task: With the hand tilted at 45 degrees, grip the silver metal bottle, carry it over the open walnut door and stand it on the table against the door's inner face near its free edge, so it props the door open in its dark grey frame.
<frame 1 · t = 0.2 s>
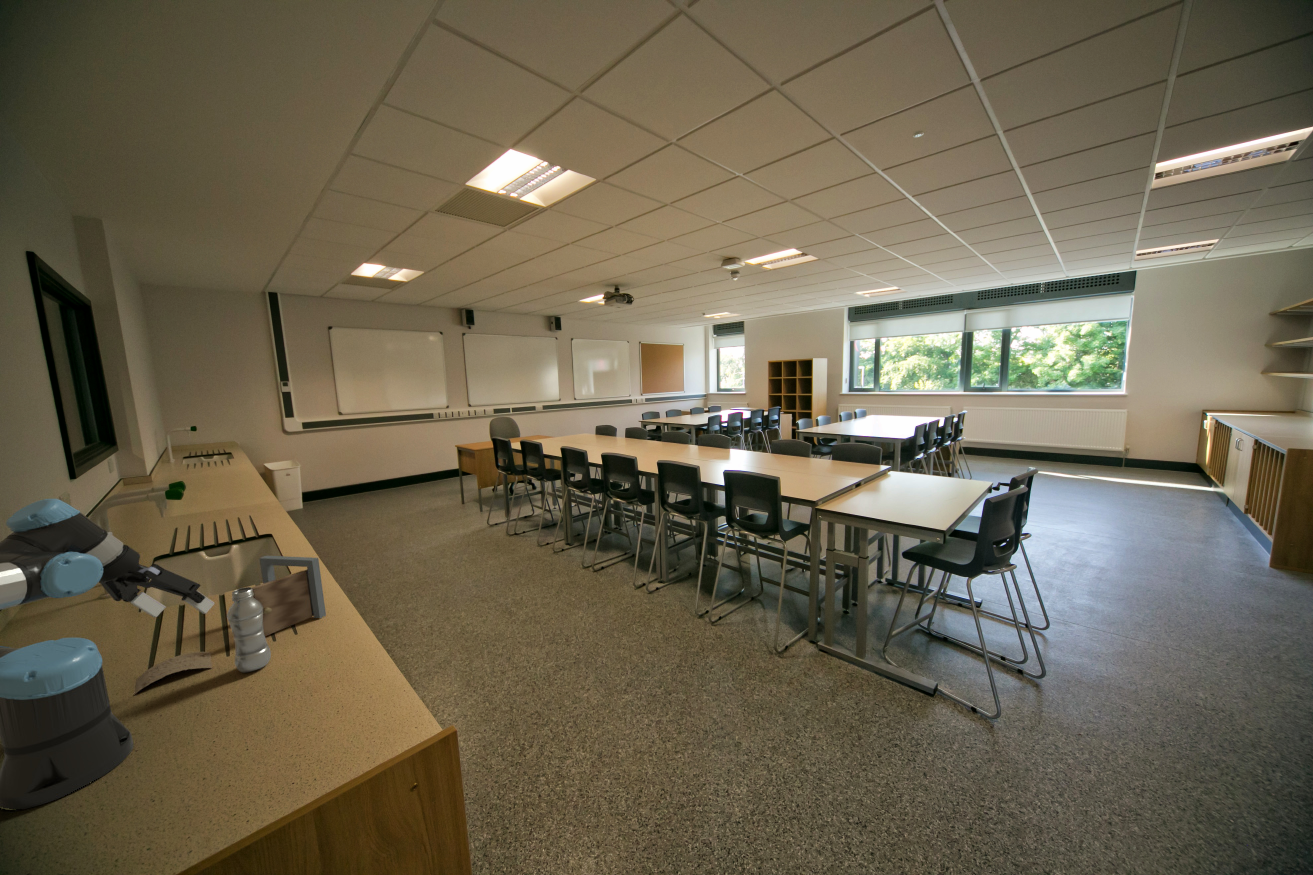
hand: (184, 610, 109), 15 cm above the counter, tool tilted 30°, fingers open, 13 cm apart
silver metal bottle: (254, 668, 111), on the counter
door frame: (296, 615, 135), on the counter
door: (286, 602, 127), point 8 cm above the counter, hinge at 70.0°
clay tablet: (175, 675, 110), on the counter
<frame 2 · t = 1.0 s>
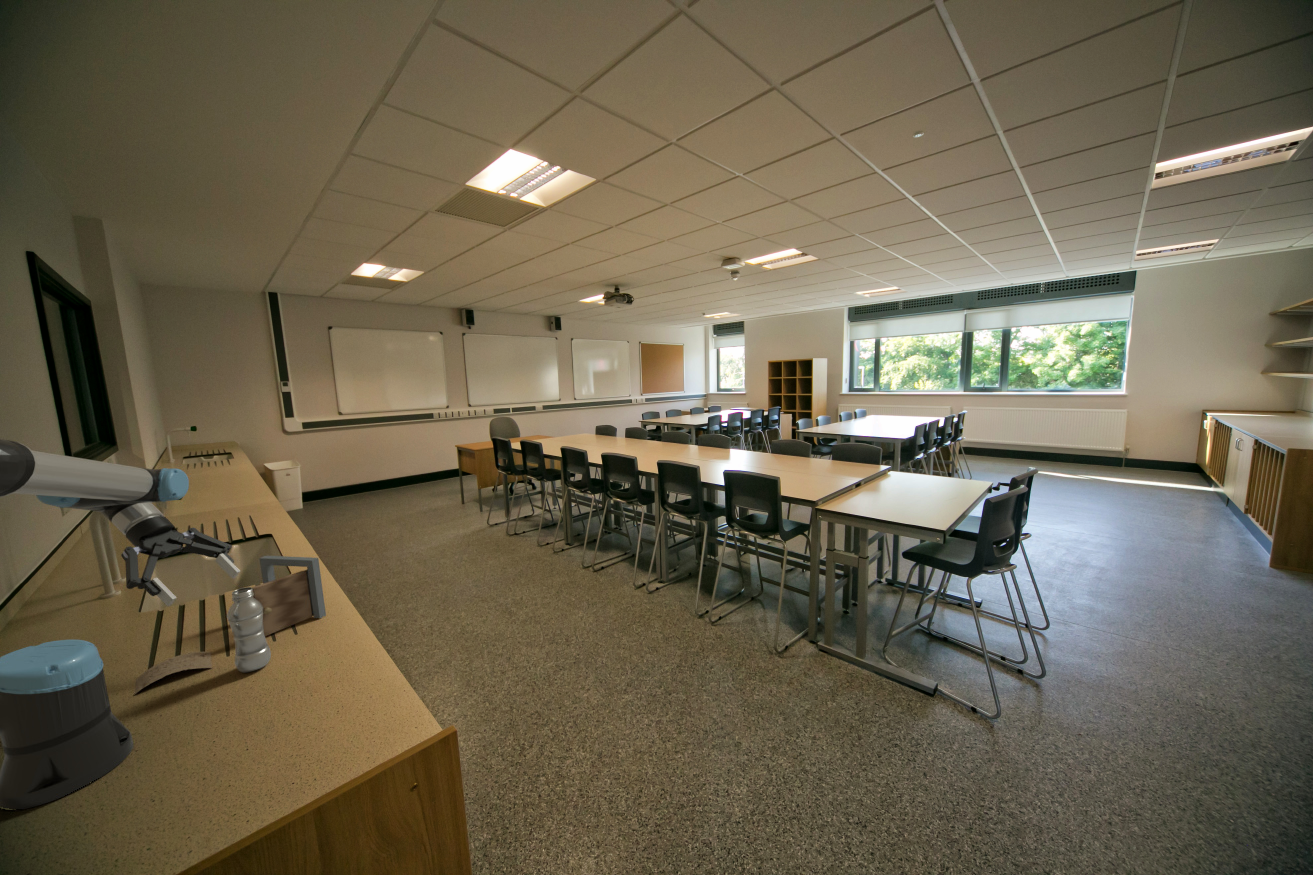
hand: (206, 587, 109), 20 cm above the counter, tool tilted 45°, fingers open, 13 cm apart
nothing on the counter moved.
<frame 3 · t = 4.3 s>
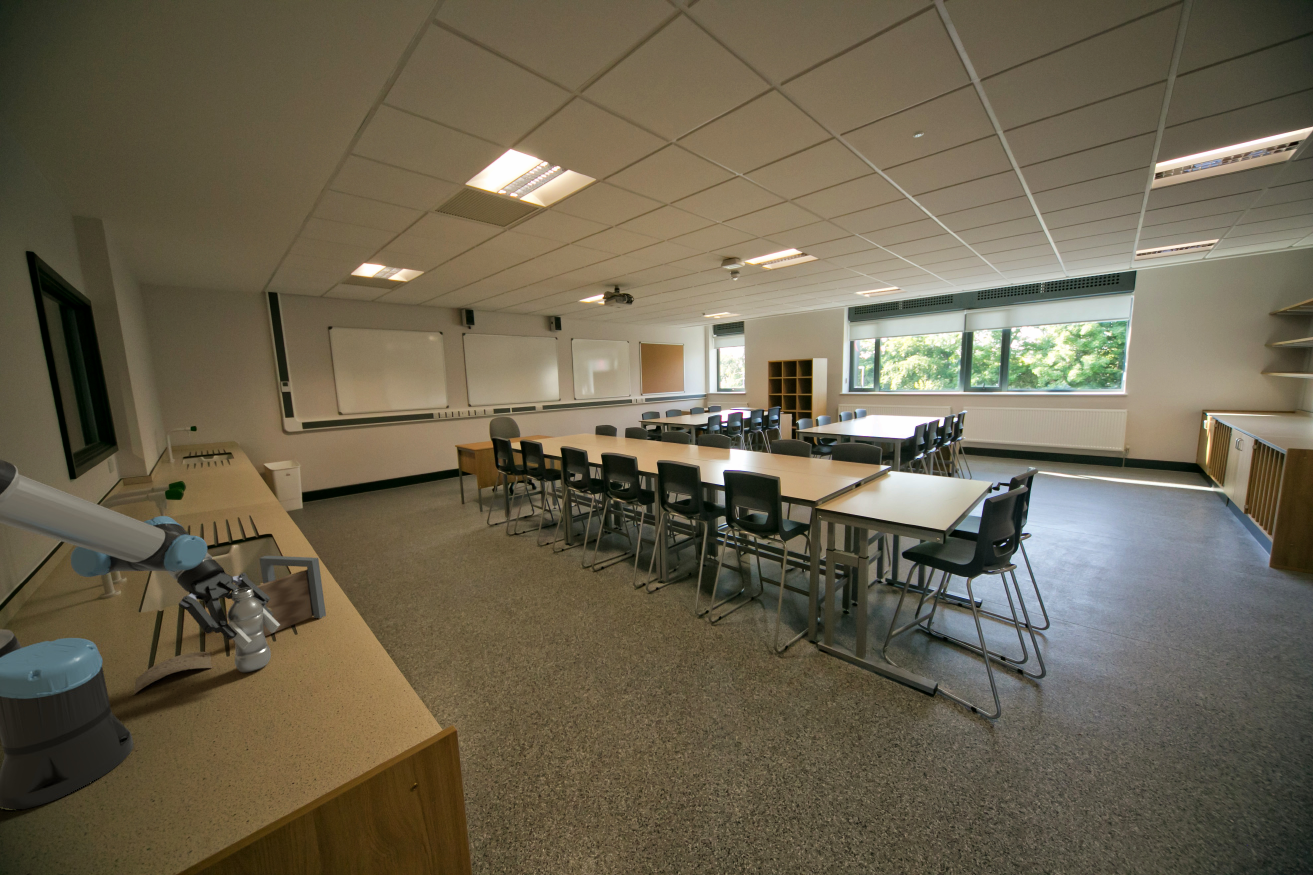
hand: (262, 636, 109), 8 cm above the counter, tool tilted 45°, fingers closed on silver metal bottle, 6 cm apart
silver metal bottle: (254, 668, 111), on the counter, touching gripper
everything else where it was.
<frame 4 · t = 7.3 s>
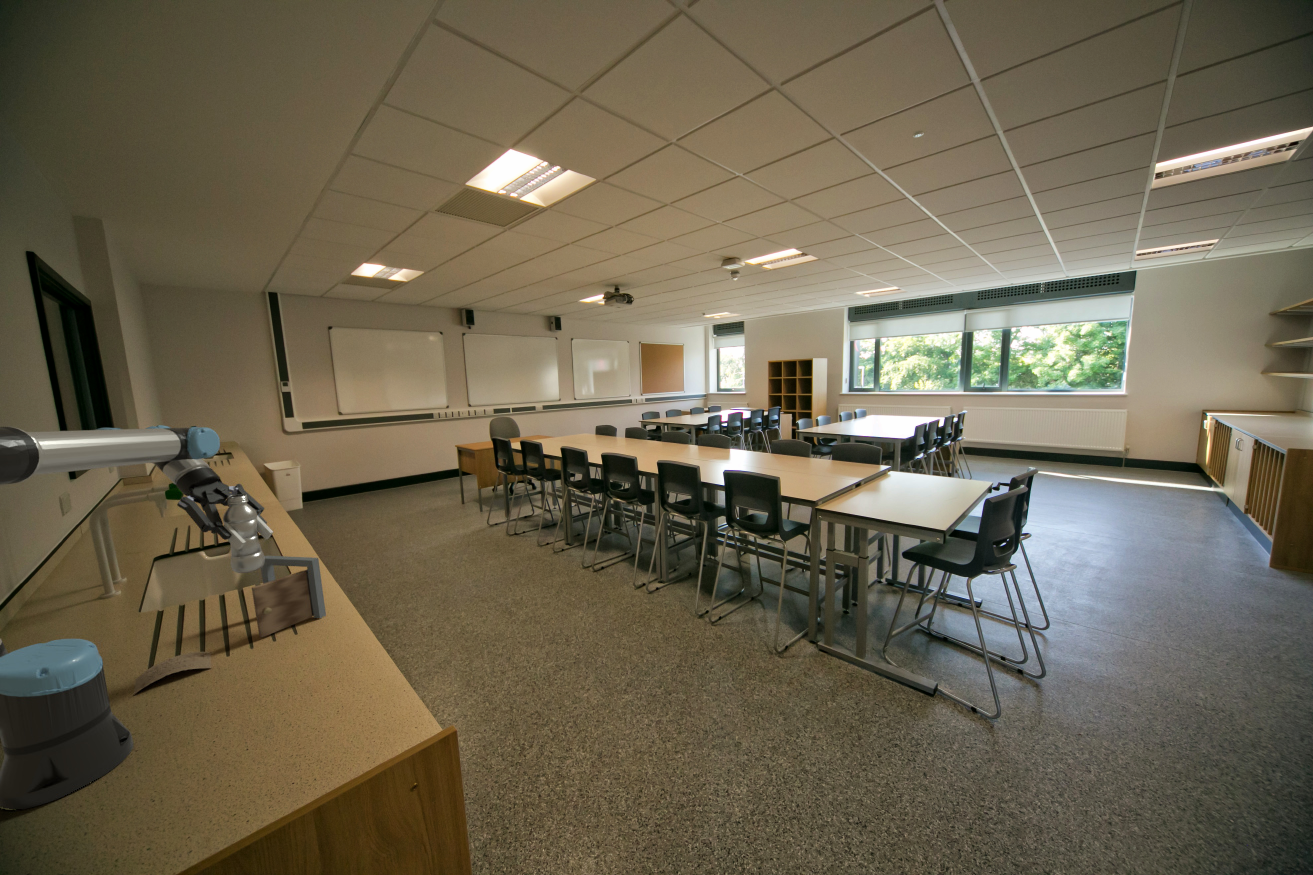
hand: (256, 540, 115), 29 cm above the counter, tool tilted 45°, fingers closed on silver metal bottle, 6 cm apart
silver metal bottle: (249, 571, 117), point 21 cm above the counter, touching gripper
everything else where it was.
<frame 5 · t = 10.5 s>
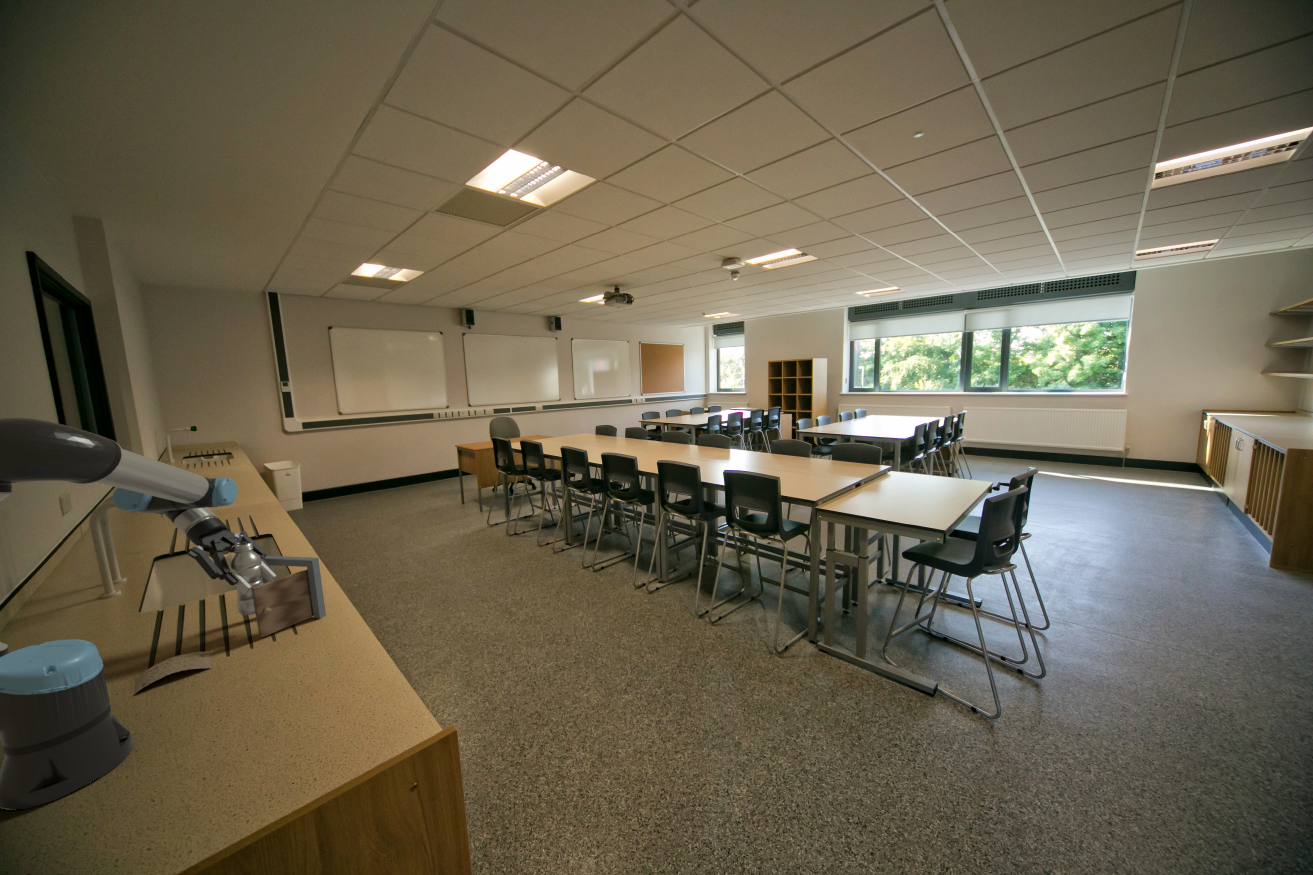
hand: (260, 584, 125), 14 cm above the counter, tool tilted 45°, fingers closed on silver metal bottle, 6 cm apart
silver metal bottle: (254, 612, 126), point 5 cm above the counter, touching gripper
door: (286, 602, 127), point 8 cm above the counter, hinge at 70.0°, touching gripper
everything else where it was.
when the fingers open (10 cm above the counter, at t = 11.8 s): silver metal bottle stays where it is, on the counter.
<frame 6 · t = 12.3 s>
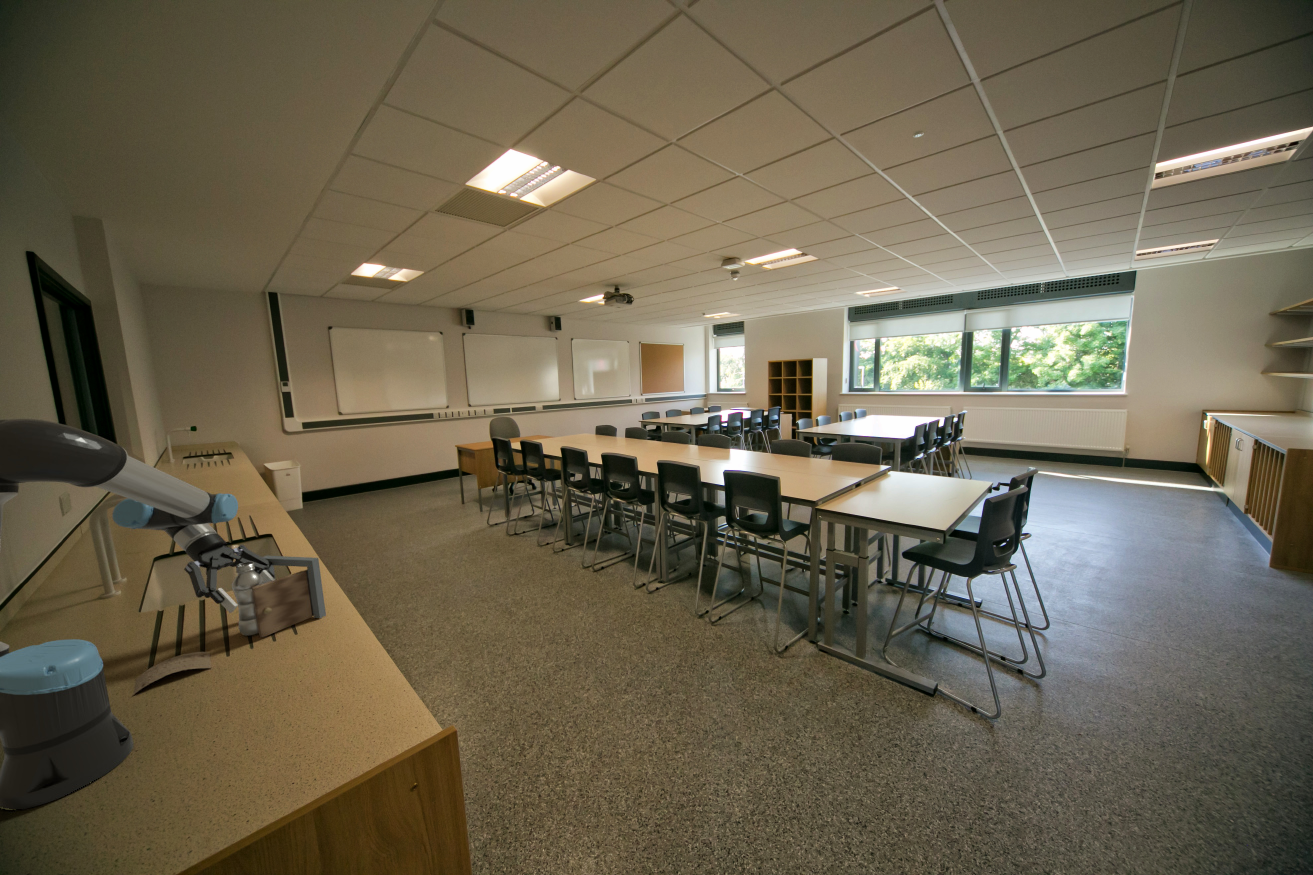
hand: (256, 598, 124), 11 cm above the counter, tool tilted 45°, fingers open, 11 cm apart
silver metal bottle: (255, 632, 127), on the counter
door: (286, 602, 127), point 8 cm above the counter, hinge at 70.4°
everything else where it was.
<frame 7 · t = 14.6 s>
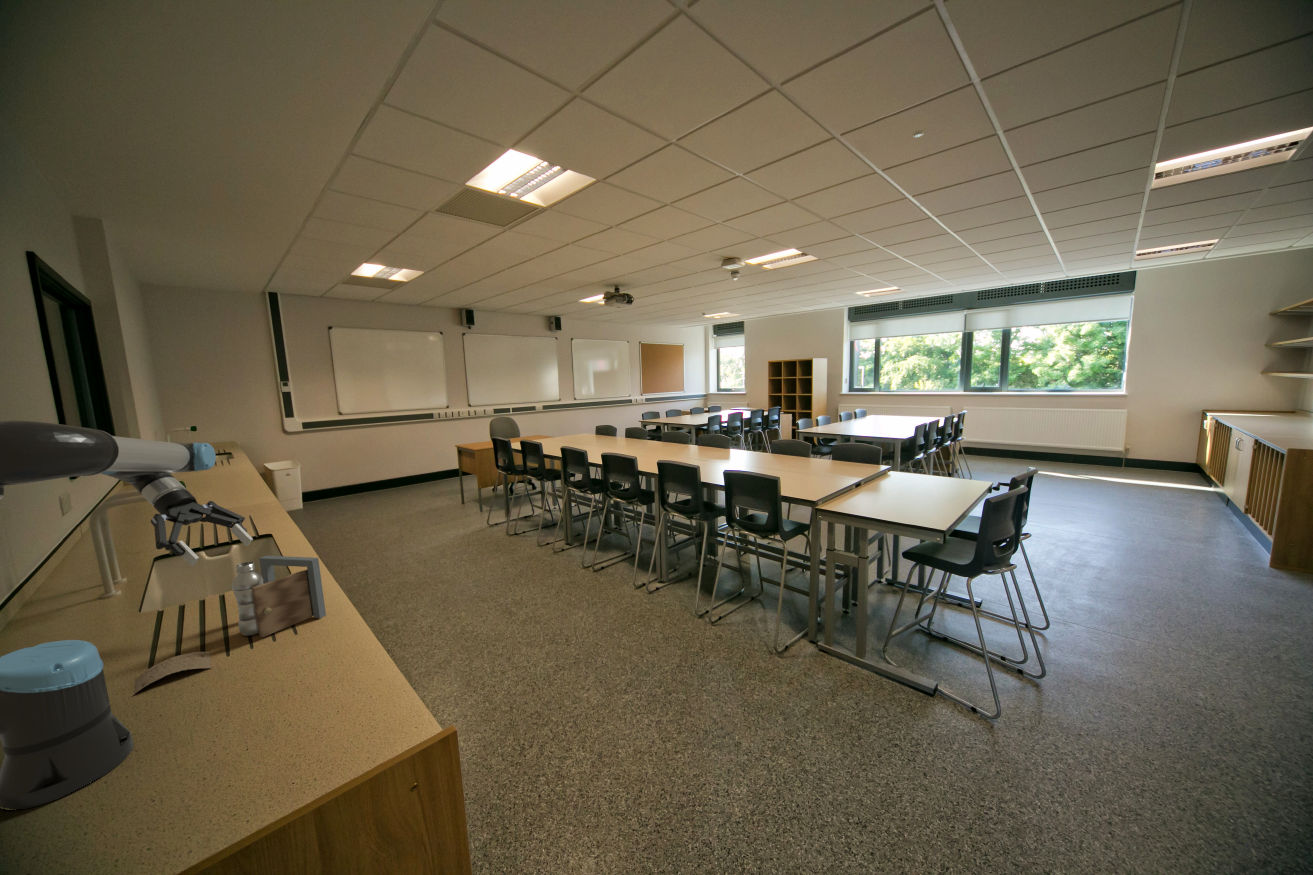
hand: (223, 551, 124), 23 cm above the counter, tool tilted 45°, fingers open, 13 cm apart
nothing on the counter moved.
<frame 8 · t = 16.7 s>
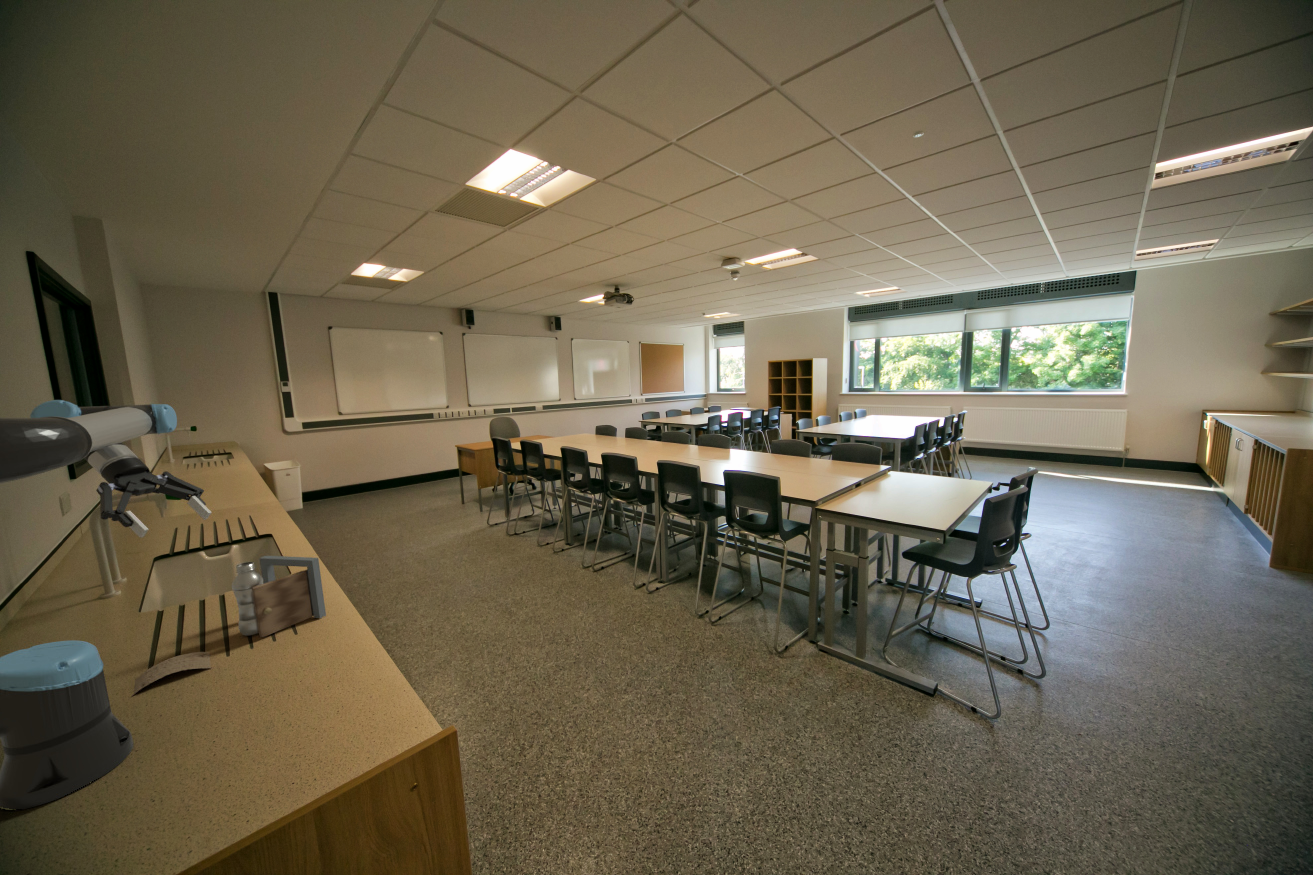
hand: (178, 524, 116), 34 cm above the counter, tool tilted 45°, fingers open, 13 cm apart
nothing on the counter moved.
at the end: silver metal bottle 0.2 cm from the target spot, on the counter; silver metal bottle tilted 0°; door at +70° (first picture: +70°) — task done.
